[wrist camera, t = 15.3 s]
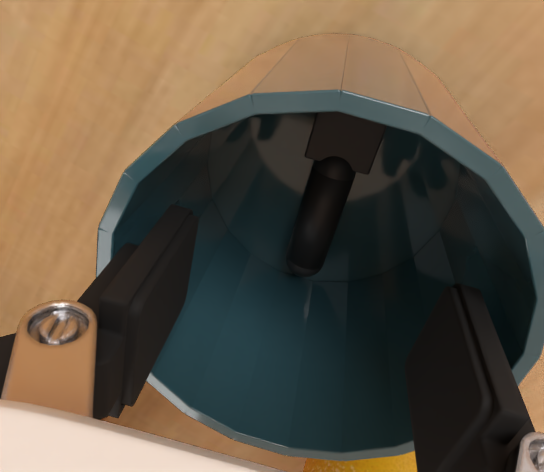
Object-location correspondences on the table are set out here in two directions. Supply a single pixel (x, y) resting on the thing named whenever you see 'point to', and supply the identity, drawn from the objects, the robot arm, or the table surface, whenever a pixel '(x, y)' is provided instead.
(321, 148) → the dark grey mallet
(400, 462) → the fruit
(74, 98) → the table surface
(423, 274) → the tumbler
